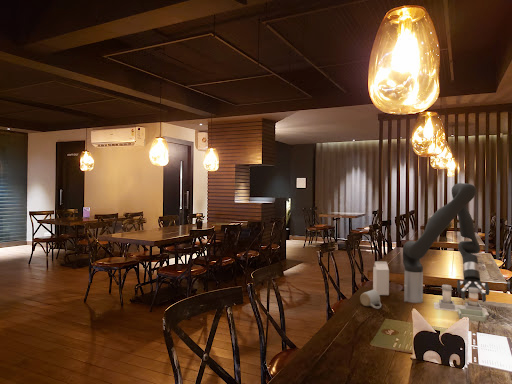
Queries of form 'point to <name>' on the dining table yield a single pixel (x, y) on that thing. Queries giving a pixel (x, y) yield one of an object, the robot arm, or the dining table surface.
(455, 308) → the fuse board
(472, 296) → the ball
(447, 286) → the fuse
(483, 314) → the parts tray
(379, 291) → the milk carton
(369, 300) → the ceramic mug
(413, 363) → the dining table surface
